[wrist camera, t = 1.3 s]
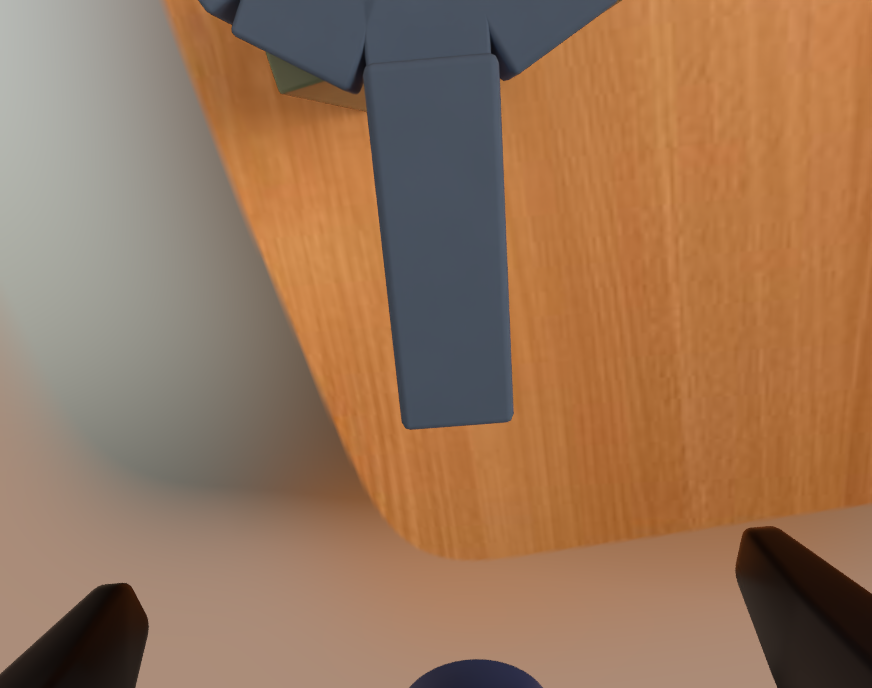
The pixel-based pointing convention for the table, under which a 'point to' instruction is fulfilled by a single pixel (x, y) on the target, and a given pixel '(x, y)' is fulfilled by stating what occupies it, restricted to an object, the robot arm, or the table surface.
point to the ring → (430, 168)
